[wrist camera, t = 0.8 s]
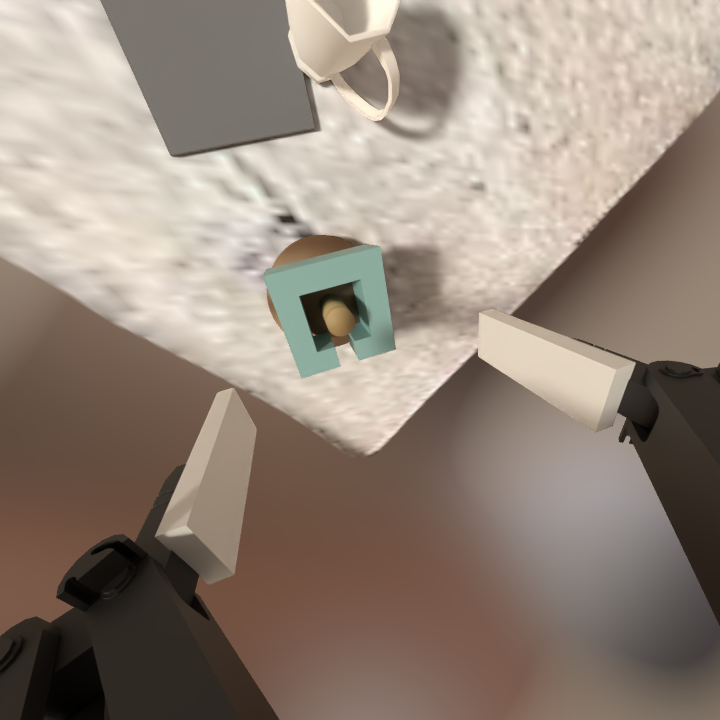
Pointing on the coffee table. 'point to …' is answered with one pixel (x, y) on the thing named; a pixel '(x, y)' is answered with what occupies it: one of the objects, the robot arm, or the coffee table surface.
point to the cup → (344, 43)
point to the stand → (323, 291)
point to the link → (328, 272)
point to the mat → (213, 69)
